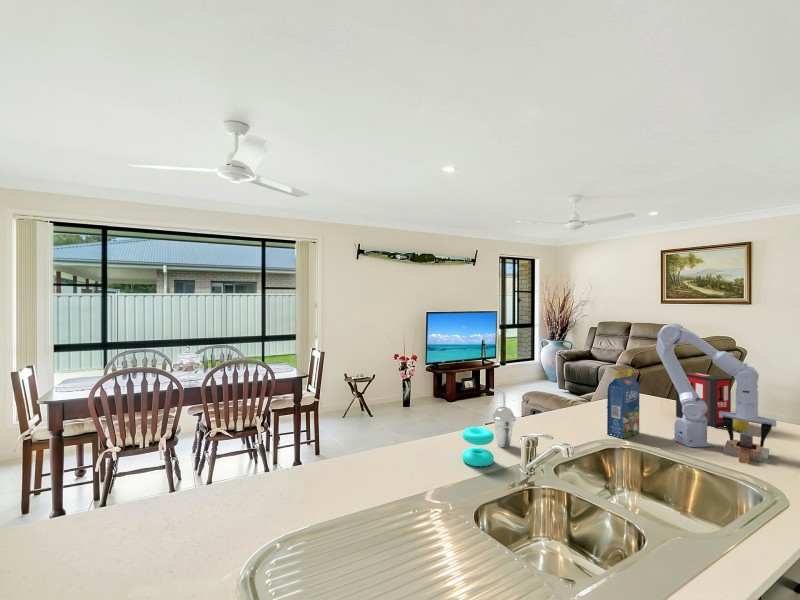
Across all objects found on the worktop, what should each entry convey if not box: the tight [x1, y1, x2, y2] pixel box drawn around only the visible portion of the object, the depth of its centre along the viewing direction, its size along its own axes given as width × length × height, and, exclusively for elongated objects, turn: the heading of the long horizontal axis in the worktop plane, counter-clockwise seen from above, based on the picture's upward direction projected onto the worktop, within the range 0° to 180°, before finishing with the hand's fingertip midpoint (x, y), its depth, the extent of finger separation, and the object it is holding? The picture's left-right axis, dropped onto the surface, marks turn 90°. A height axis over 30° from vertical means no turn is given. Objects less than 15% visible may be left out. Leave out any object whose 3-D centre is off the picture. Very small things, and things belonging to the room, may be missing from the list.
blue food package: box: [606, 368, 640, 439], centre depth 152 cm, size 6×12×25 cm, turn 123°
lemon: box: [733, 419, 750, 433], centre depth 155 cm, size 6×6×8 cm
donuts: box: [461, 426, 495, 468], centre depth 126 cm, size 10×10×10 cm
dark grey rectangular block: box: [739, 431, 754, 449], centre depth 133 cm, size 4×3×7 cm
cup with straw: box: [489, 388, 517, 448], centre depth 140 cm, size 8×9×20 cm
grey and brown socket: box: [723, 438, 770, 465], centre depth 131 cm, size 16×11×3 cm
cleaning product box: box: [675, 370, 732, 429], centre depth 169 cm, size 16×9×20 cm, turn 17°
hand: (746, 442), depth 133 cm, fingers open, 7 cm apart
